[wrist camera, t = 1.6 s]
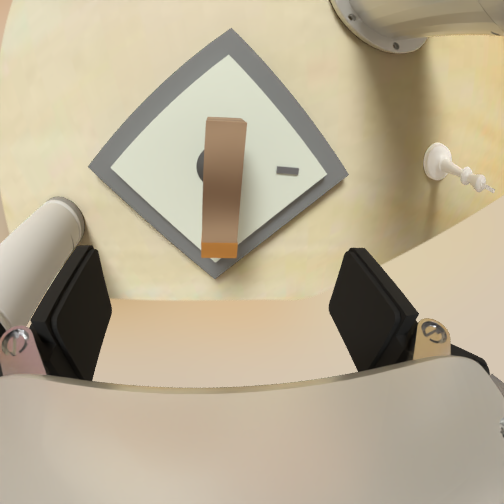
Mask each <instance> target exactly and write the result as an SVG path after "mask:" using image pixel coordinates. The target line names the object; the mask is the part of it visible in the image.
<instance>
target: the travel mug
mask: <svg viewBox="0 0 504 504" xmlns="http://www.w3.org/2000/svg"><path fill="white" fill-rule="evenodd" d="M83 234H84V219H83V216H82V214H81V212H80V210H79V209H78V207H77V206H76V205H75V204H74V203H73V202H72V201H70V200H68V199H66V198H64V197H53V198H51V199H49V200H48V201H46V202H45V203H44V204H43V205H42V206H40V207H39V208H38V209H37V210H36V211H35V212H33V213H32V214H31V215H30V216H29V217H28V218H27V219H26V220H24V221H23V222H22V223H21V224H20V225H19V226H18V227H17V228H16V229H15V230H14V231H13V232H12V233H11V234H10V235H9V236H8V237H7V238H6V239H5V240H4V241H3V242H2V243H1V244H0V338H1V337H2V335H3V334H4V333H5V332H6V331H7V330H9V329H10V328H12V327H15V326H21V325H23V326H27V324H28V322H29V320H30V318H31V316H32V315H33V313H34V311H35V309H36V307H37V306H38V304H39V302H40V300H41V299H42V297H43V295H44V294H45V292H46V291H47V289H48V287H49V286H50V284H51V283H52V281H53V279H54V278H55V276H56V275H57V273H58V272H59V270H60V269H61V267H62V266H63V264H64V263H65V261H66V260H67V258H68V257H69V255H70V254H71V253H72V251H73V250H74V248H75V247H76V246H77V244H78V243H79V242H80V240H81V239H82V237H83Z"/></svg>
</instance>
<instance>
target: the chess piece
mask: <svg viewBox="0 0 504 504" xmlns="http://www.w3.org/2000/svg"><path fill="white" fill-rule="evenodd" d="M423 166H424V170H425V173H426V175H427V176H428V177H429V178H431V179H434V180H441V179H443V178H444V177H446V175H447V174H448V173H450V174H453V175H456V176H458V177H460V178H461V182H462V184H464V185H467V184H469V183H470V184H471V185H472V186H473V187H474V189H475V190H476V191H477V192H481V191H482V190H483V189H484V188H485V189H487V190H489V191H490V192H492V193H494V191H495V189H493V188H492V187H490V186H488V185H486V179H485V177H484V175H482V174H472V170H471V169H470V168H469V167H465V168H464V169H462V168H460V167H458V166H457V165H456V164H454V163H453V162H452V157H451V153H450V151H449V149H448V148H447V147H446V146H445V145H443V144H442V143H433V144H432V145H430V146H429V148H428V149H427V151H426V153H425V155H424V161H423Z"/></svg>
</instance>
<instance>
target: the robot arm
mask: <svg viewBox="0 0 504 504" xmlns="http://www.w3.org/2000/svg"><path fill="white" fill-rule="evenodd" d="M331 3H332V6H333V8H334V9H335V11H336V13H337V15H338V16H339V18H340V19H341V20H342V22H343V23H344V24H345V25H346V26H347V27H348V28H349V29H350V30H351V32H352V33H354V34H355V35H356V36H357V37H359V38H360V39H361V40H362V41H364V42H366V43H367V44H369V45H370V46H372V47H374V48H377V49H379V50H381V51H385V52H388V53H396V54H401V53H409V52H413V51H415V50H417V49H419V48H420V47H421V46H422V45H423V44H424V43H425V42H426V40H427V38H428V37H434V36H449V35H491V36H504V0H331ZM349 18H350V19H349ZM329 312H330V314H331V316H332V318H333V320H334V322H335V324H336V326H337V328H338V331H339V333H340V335H341V337H342V339H343V341H344V343H345V345H346V346H347V349H348V351H349V353H350V355H351V357H352V360H353V362H354V364H355V366H356V368H357V370H358V372H355V373H350V374H345V375H339V376H333V377H328V378H321V379H314V380H307V381H299V382H290V383H282V384H271V385H259V386H244V387H220V388H172V387H170V388H169V387H149V386H135V385H122V384H113V383H104V382H95V381H92V379H93V375H94V371H95V367H96V364H97V360H98V356H99V353H100V349H101V346H102V342H103V339H104V336H105V333H106V329H107V326H108V323H109V320H110V317H111V313H112V307H111V303H110V299H109V296H108V292H107V288H106V284H105V280H104V276H103V272H102V267H101V263H100V258H99V254H98V251H97V250H96V249H94V248H93V246H77V247H76V248H75V250H74V251H73V253H72V254H71V256H70V257H69V258H68V260H67V261H66V263H65V264H64V266H63V267H62V269H61V270H60V272H59V273H58V275H57V276H56V278H55V279H54V281H53V282H52V284H51V286H50V287H49V289H48V290H47V292H46V294H45V296H44V297H43V299H42V301H41V302H40V304H39V306H38V308H37V309H36V311H35V313H34V315H33V316H32V318H31V322H32V324H31V326H30V328H28V327H26V326H23V325H21V326H15V327H12V328H10V329H9V330H7V331H6V332H5V333H4V334H3V335H2V337H1V338H0V504H504V383H503V382H502V381H500V380H499V379H498V378H497V377H495V376H494V375H493V374H491V375H490V373H489V368H488V366H487V364H486V362H485V360H483V359H482V358H480V357H478V356H476V355H474V354H472V353H469V352H467V351H465V350H463V349H461V348H459V347H457V346H455V345H452V344H451V343H450V334H449V332H448V330H447V329H446V328H445V327H444V326H443V325H442V324H441V323H440V322H438V321H436V320H433V319H429V318H425V319H422V320H421V321H419V322H418V323H417V321H416V318H417V316H418V314H419V313H418V312H417V311H416V309H415V308H414V307H413V306H412V304H411V303H410V302H409V301H408V299H407V298H406V297H405V295H404V294H403V293H402V292H401V290H400V289H399V288H398V287H397V286H396V284H395V283H394V282H393V281H392V279H391V278H390V277H389V276H388V275H387V273H386V272H385V271H384V270H383V269H382V267H381V266H380V265H379V264H378V263H377V262H376V260H375V259H374V258H373V257H372V256H371V255H370V254H369V252H368V251H367V250H366V249H365V248H350V249H349V251H347V252H346V253H345V255H344V258H343V261H342V265H341V268H340V271H339V275H338V278H337V281H336V284H335V287H334V290H333V294H332V297H331V300H330V303H329Z"/></svg>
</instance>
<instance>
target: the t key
mask: <svg viewBox="0 0 504 504" xmlns="http://www.w3.org/2000/svg"><path fill="white" fill-rule="evenodd" d="M246 131H247V122H245V121H244V120H243V119H241V118H228V117H207V120H206V128H205V146H204V168H203V200H202V238H201V258H237V247H238V242H237V237H238V224H239V211H240V199H241V187H242V175H243V164H244V152H245V141H246Z"/></svg>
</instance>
